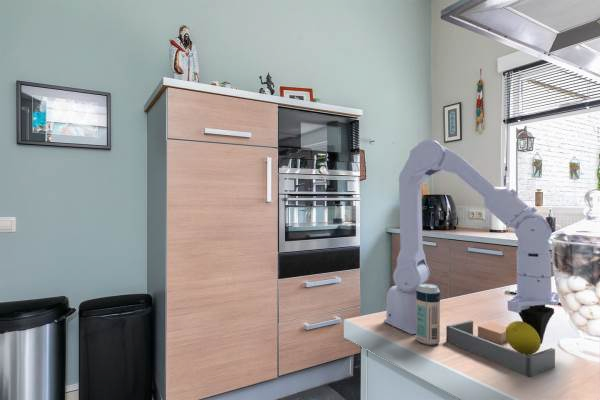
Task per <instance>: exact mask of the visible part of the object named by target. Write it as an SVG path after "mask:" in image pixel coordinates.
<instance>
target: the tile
mask: <svg viewBox="0 0 600 400" xmlns="http://www.w3.org/2000/svg"><path fill="white" fill-rule="evenodd" d="M506 328H507V326H504V325H501V324H497V323H494V322H491V321H489V322H486V323H483V324H480V325H477V337H480V338H482V339H485V340H488V341H490V342H493V343H496V344H499V345H500V344H503V343H508V341H507V339H506V334H505V332H506Z"/></svg>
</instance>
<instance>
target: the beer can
mask: <svg viewBox="0 0 600 400" xmlns="http://www.w3.org/2000/svg"><path fill="white" fill-rule="evenodd" d="M440 321H441V290H440V289H439V287H438V285H436V284H432V283H425V284H418V287H417V289H416V334H415V339H416V340H417V341H418V342H419V343H420V344H422V345H427V346H435V345H438V344H439V343H440V339H441V337H440V335H441V333H440V331H441V329H440V328H441V325H440V324H441V322H440Z"/></svg>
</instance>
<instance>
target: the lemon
mask: <svg viewBox="0 0 600 400" xmlns="http://www.w3.org/2000/svg"><path fill="white" fill-rule="evenodd" d="M506 327H507V328H506V332H505V334H506V339H507V343H508V345H509V346H510V347H511V349H512V350H514V351H516V352H519V353H522V354H524V355H527V356H530V355H533V354H535V353H538V351H539V350H540V348H541V345H542V344H541V340H540V337H539V334H538V333H537V331H536V330H535V329H534V328H533V327H532V326H530V325H529V324H527V323H525V322H523V321H522V320H521V321H520V320H519V321H518V320H517V321H512V322H510V323H509V324H508V325H507V326H506Z"/></svg>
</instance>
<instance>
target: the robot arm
mask: <svg viewBox="0 0 600 400" xmlns="http://www.w3.org/2000/svg"><path fill="white" fill-rule="evenodd" d="M441 171H445V172H446V173H452V174H455V175H456V176H457V177H458V178H460V179H461V180H462V181H464V183H466V184H467V185H468V186H469V187H471V188H472V189H474V190H475V191H476V192H477V193H478V194H479V195H481V197H482V198H483V200H484V201H483V207H484V208H485V209H487V211H489V212H490V213H491V214H492V215H493V216H495V217H496V218H497V219H498V220H499V221H501V222H502V224H504V225H505V226H506V227H507V228H510V229H511V228H512V229H514V233H515V237H516V238H517V250H516V252H515V253H516V256H515V257H516V294H515V295H514V296H513V297H512V298H511V299H507V311H510V312H513V313H517V314H518V315H519V317H520V319H521V321H522V322H525V323H527V324H529V325H530V326H532V327H533V328H534V329H535V330H536V331H537V333H538V334H539V337H540V340H541V345H542V343H543V341H544V336H545V332H546V329H547V326H548V324H549V322H550V320H551V318H552V316H553V315H554V314H555V308H552V307H549V306H548V305H550V306H558V305H559V302H560V298H559V297H560V296H559V295H558V294H559V292H554V291H552V260H551V259H552V255H551V251H550V248H551V244H550V242H549V241H550V240H549V239H550V238H551V236H552V233H553V231H552V230H551V226H550V224H549V222H548V221H547V220H546V218H544V216H542V215H540V214H537V211H538V209H537V208H536V207H534V206H532V207H531V206H529V205H528V204H527V203H526V202H525V201H523V200H522V199H521V198H520V197H519V196H517V195H518V192H517V191H516V190H515V189H514V188H512V189H509V188H508V187H506V186H501V187H500V186H495V185H494V184H493V183H492V182H490V181H489V180H488V179H487V178H486V177H485V176H483V175H482V174H481V173H480V172H479V171H478V170H477V169H475V167H473V166H472V165H471V164H470V162H468V161H467V160H465V158H463V157H462V156H460V155H458V154H457V153H455V152H454V151H452V150H450V149H448V148H447V147H445V146H443V145H441V144H440V142H438V141H436V140H433V139H426V140H423V141H421V142H419V143H418V144H417V145H416V146H414V147H413V148H412V149H411V150H410V151H409V156H408V158H407V160H406V161H405V164H404V166H403V168H402V170H401V171H400V174H399V177H398V183H399V184H398V191H399V192H398V193H399V194H398V196H399V234H400V235H399V239H400V248H399V253H398V256H396V257H397V258H396V267H395V269H394V271H393V275H392V277H393V278H392V279H393V281H394V282H393V283H394V284H395V285H393V286H391V287H390V288H389V289H388V291H387V294H386V318H385V319H383V322H384V323H385V324H388V325H390V326H392V327H394V328H397V329H399V330H401V331H404V332H405V333H407V334H409V335H416V289H417V287H418V284H426V282H427V281H428V280H429V278H430V274H431V271H430V267H429V266H428V264H427V260H426V254H425V251H424V247H423V246H424V244H423V209H422V208H423V206H422V205H423V203H422V202H423V201H422V185H423V183H424V182H425V181H427V180H428V178H430V177H431V176H432V175H434V174H437V173H438V172H441ZM546 305H547V306H546Z"/></svg>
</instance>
